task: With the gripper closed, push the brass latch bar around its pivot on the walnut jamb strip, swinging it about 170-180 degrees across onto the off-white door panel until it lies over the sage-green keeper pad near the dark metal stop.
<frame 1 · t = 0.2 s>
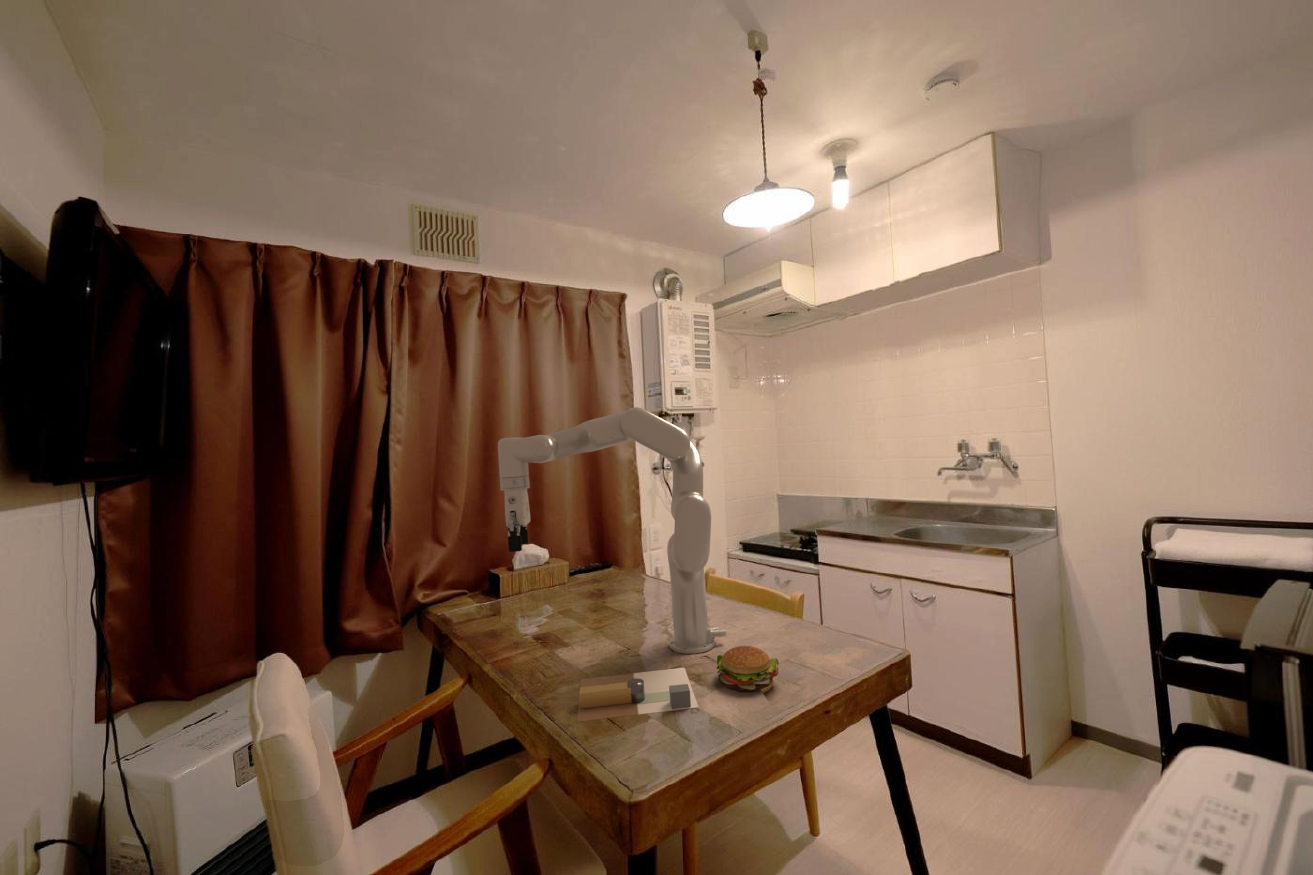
hand: (519, 547, 136), 31 cm above the table, fingers open, 9 cm apart
food: (749, 684, 117), on the table
door panel: (636, 697, 114), on the table
latch bar: (612, 693, 110), point 3 cm above the table, hinge at 0.0°
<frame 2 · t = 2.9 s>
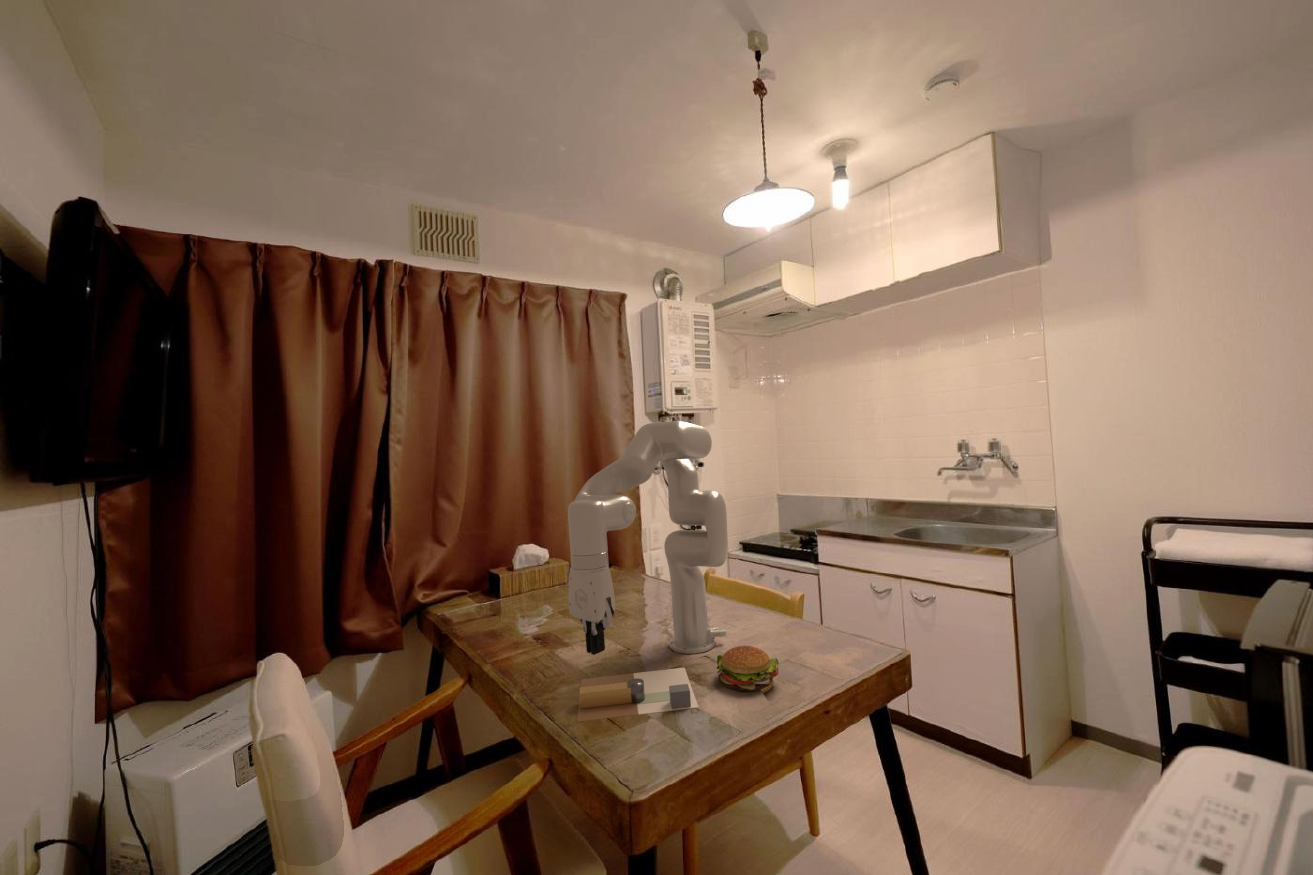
hand: (595, 651, 103), 15 cm above the table, fingers closed
nothing on the table moved.
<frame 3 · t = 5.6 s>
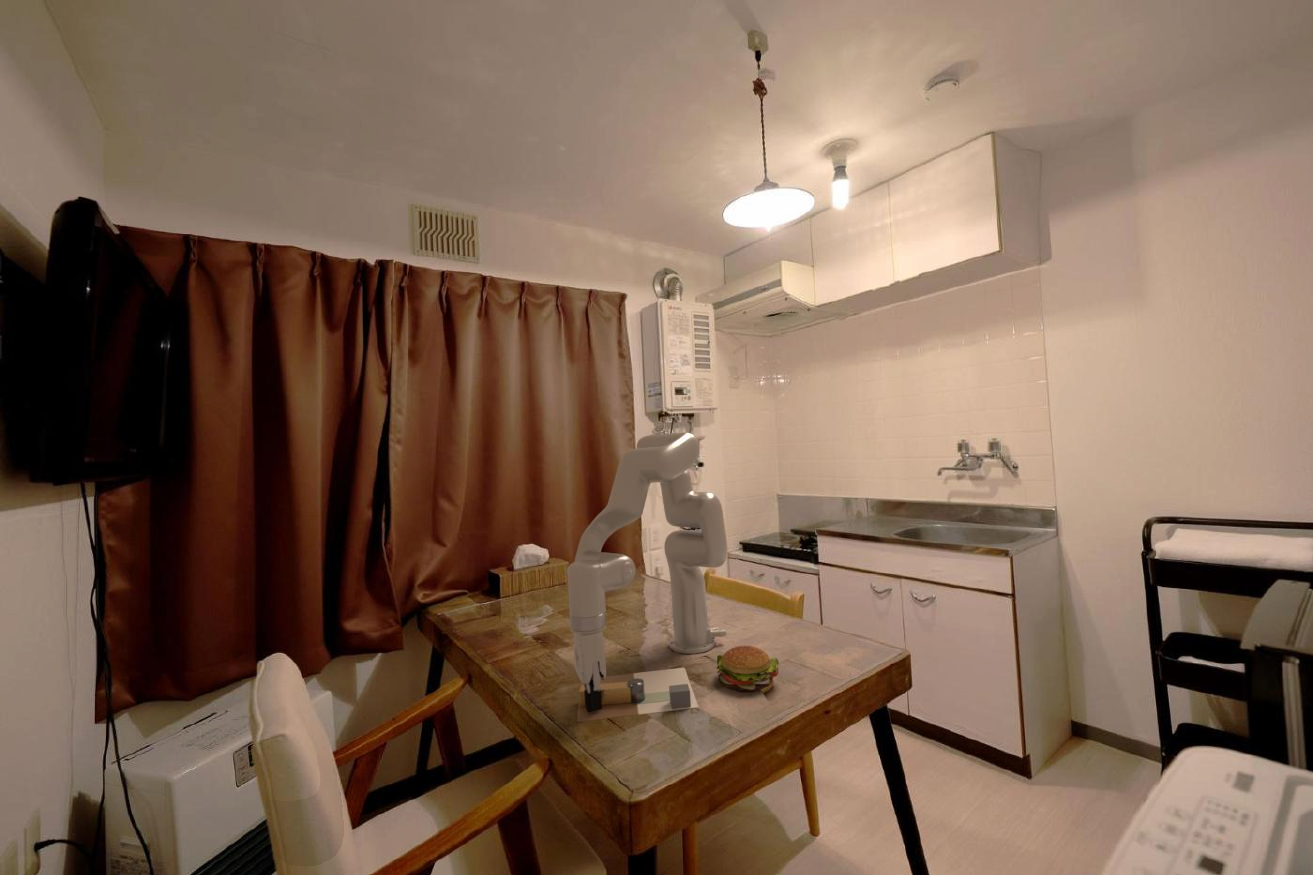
hand: (593, 708, 107), 2 cm above the table, fingers closed
latch bar: (612, 692, 110), point 3 cm above the table, hinge at 4.4°, touching gripper
everything else where it was.
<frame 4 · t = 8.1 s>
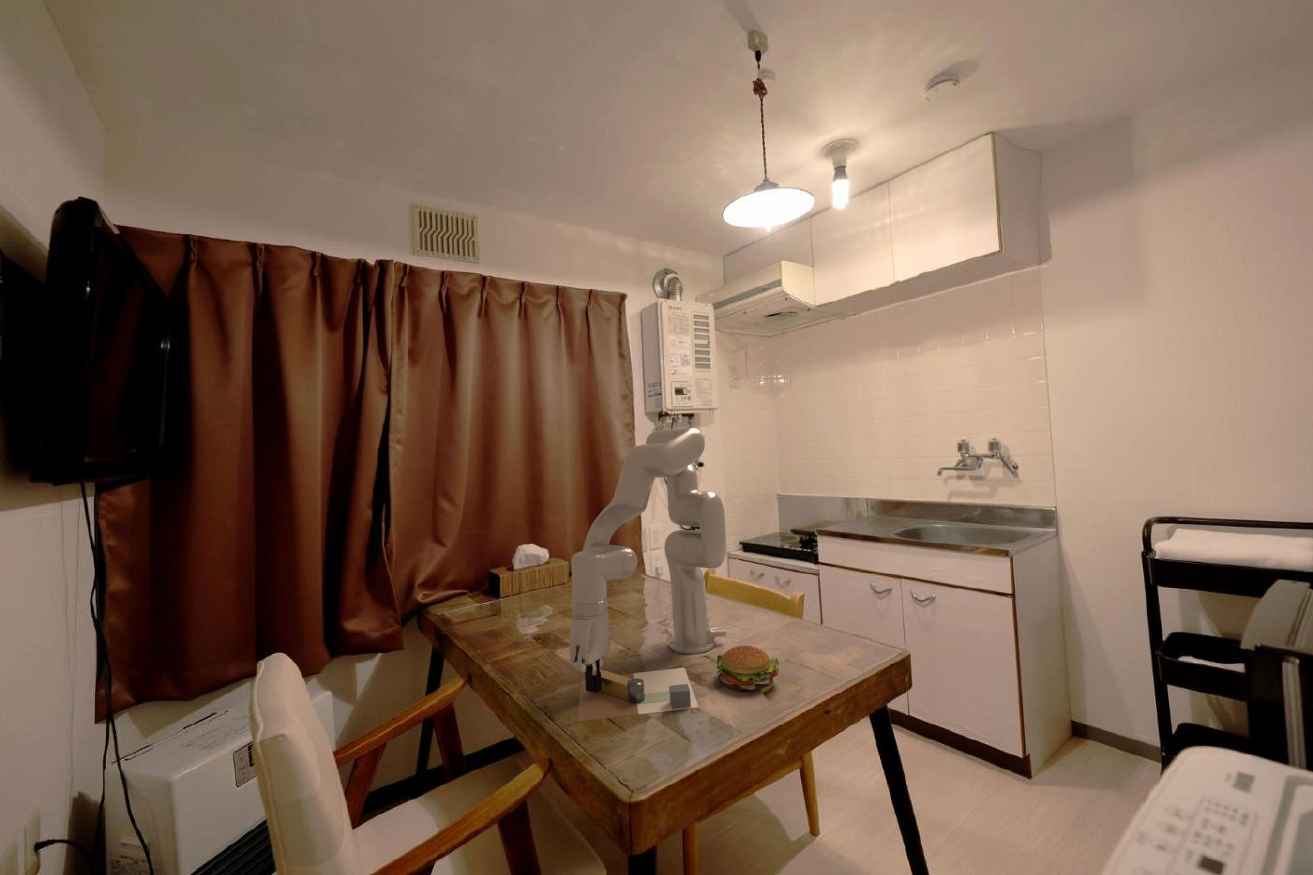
hand: (593, 690, 114), 2 cm above the table, fingers closed
latch bar: (618, 684, 114), point 3 cm above the table, hinge at 44.0°, touching gripper
everything else where it was.
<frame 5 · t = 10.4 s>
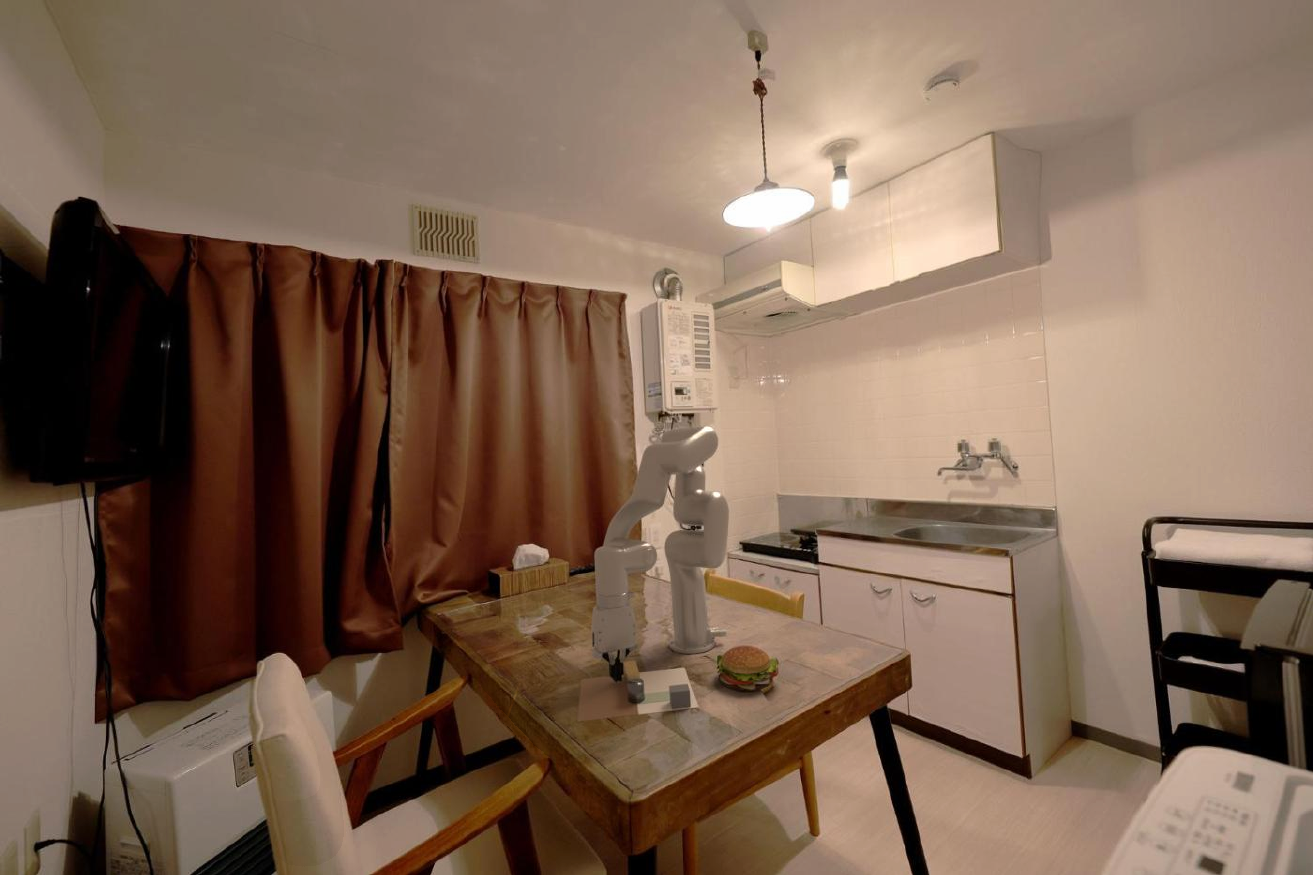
hand: (616, 679, 119), 2 cm above the table, fingers closed
latch bar: (633, 680, 115), point 3 cm above the table, hinge at 86.2°, touching gripper
everything else where it was.
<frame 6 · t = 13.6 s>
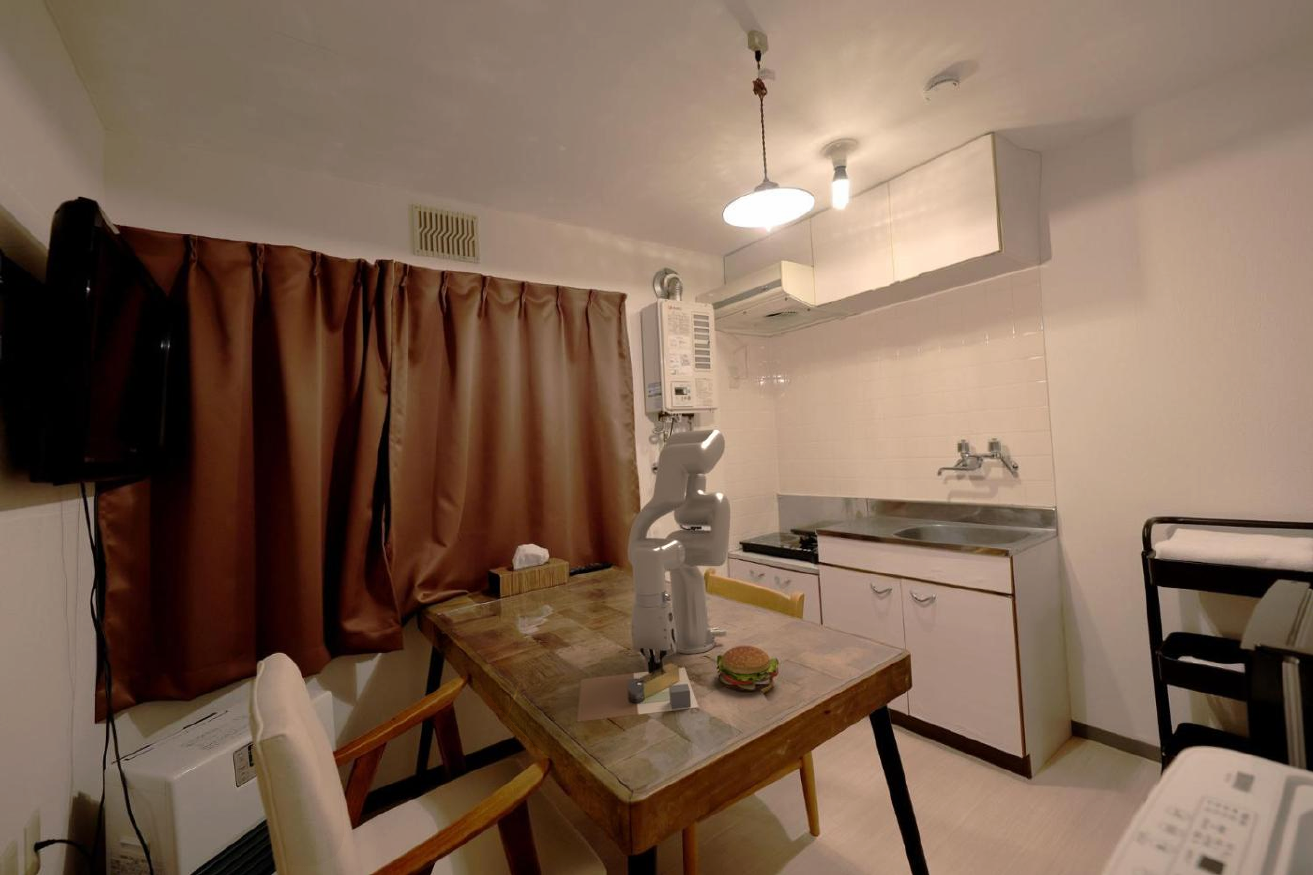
hand: (656, 676, 119), 2 cm above the table, fingers closed
latch bar: (653, 681, 114), point 3 cm above the table, hinge at 142.3°, touching gripper
everything else where it was.
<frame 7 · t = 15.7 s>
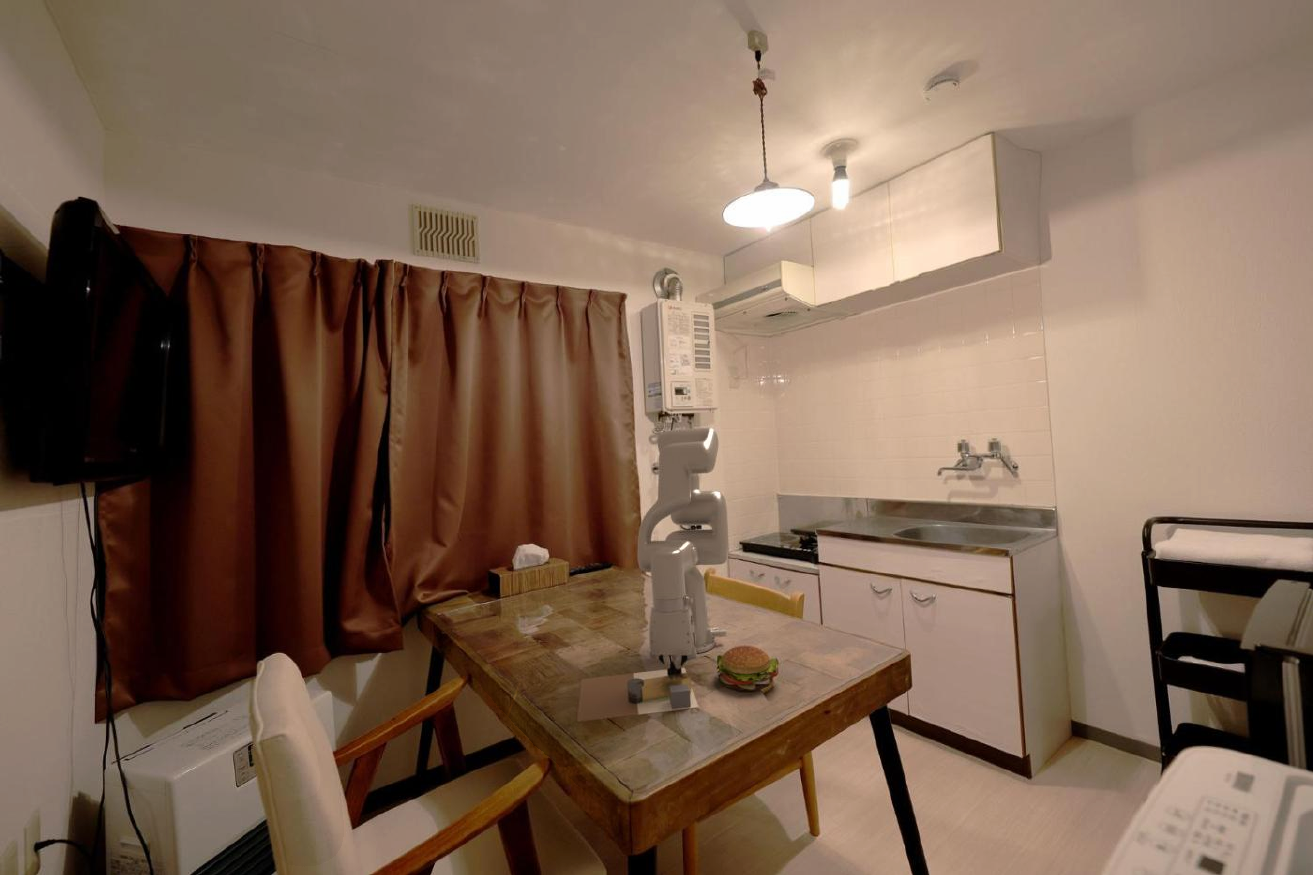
hand: (675, 683, 116), 2 cm above the table, fingers closed
latch bar: (658, 686, 112), point 3 cm above the table, hinge at 173.4°, touching gripper
everything else where it was.
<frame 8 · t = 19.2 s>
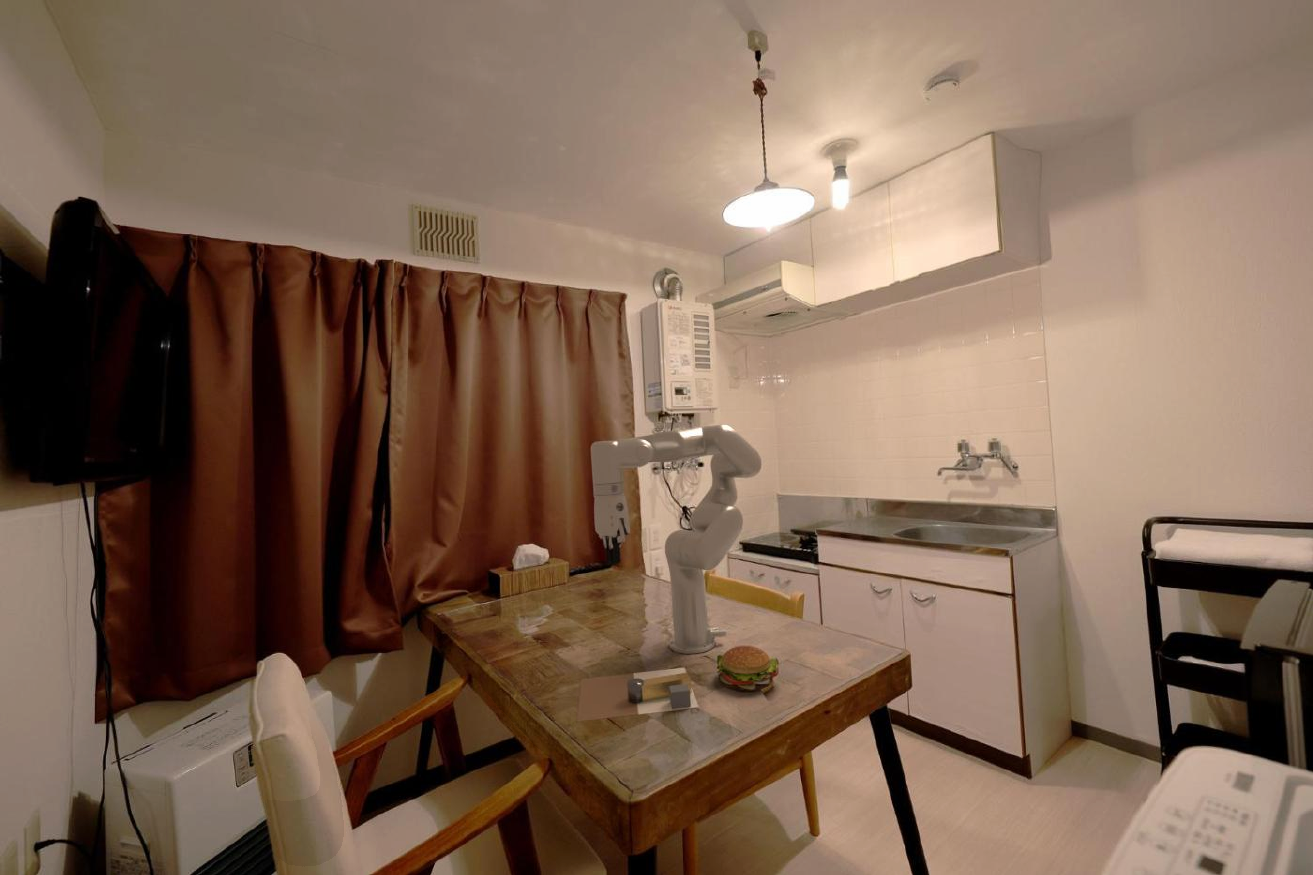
hand: (613, 563, 127), 27 cm above the table, fingers closed
latch bar: (658, 686, 112), point 3 cm above the table, hinge at 173.6°
everything else where it was.
at the end: latch bar at +174° (first picture: +0°); latch bar touching nothing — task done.
